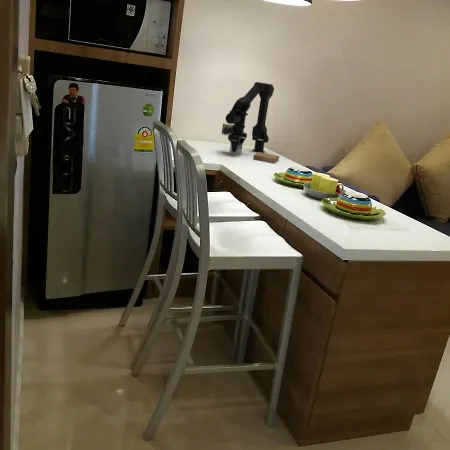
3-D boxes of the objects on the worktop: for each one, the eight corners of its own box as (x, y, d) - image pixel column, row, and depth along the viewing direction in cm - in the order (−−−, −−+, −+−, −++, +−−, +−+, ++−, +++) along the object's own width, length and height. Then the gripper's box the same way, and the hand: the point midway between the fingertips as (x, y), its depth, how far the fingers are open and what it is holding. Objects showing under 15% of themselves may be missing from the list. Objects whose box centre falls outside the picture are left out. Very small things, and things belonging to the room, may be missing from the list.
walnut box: (257, 157, 295) (258, 152, 294) (278, 161, 292) (279, 155, 291) (252, 160, 284) (253, 154, 283) (274, 164, 281) (275, 158, 280)
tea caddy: (231, 152, 295) (233, 142, 293) (241, 154, 294) (242, 143, 292) (229, 153, 290) (230, 143, 288) (238, 155, 289) (240, 145, 287)
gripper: (230, 119, 297) (226, 146, 302) (220, 122, 280) (217, 150, 285) (248, 123, 294) (245, 150, 299) (240, 125, 277) (236, 154, 282)
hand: (235, 151), depth 291 cm, fingers open, 9 cm apart
